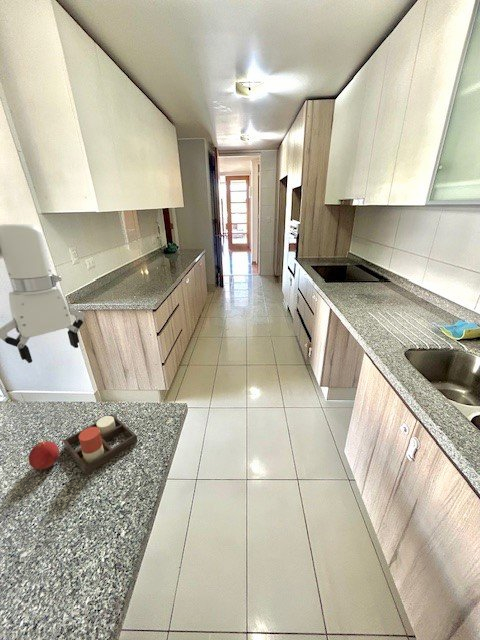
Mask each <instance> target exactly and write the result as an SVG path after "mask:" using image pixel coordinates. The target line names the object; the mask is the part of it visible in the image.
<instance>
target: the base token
mask: <svg viewBox="0 0 480 640" xmlns="http://www.w3.org/2000/svg"><path fill="white" fill-rule="evenodd" d="M82 454H83V457H84V461H85V464H86V465H88V464H90V463H91V462H93V461H94V460H96V459H97V458H99V457H100V456H102V455H104V454H105V453H104V448H103V445H102V446H101V447H100V449H98V450H97V451H95V452H93V453H90V454H86V453H83V452H82Z"/></svg>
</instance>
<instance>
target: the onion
mask: <svg viewBox="0 0 480 640" xmlns="http://www.w3.org/2000/svg"><path fill="white" fill-rule="evenodd" d="M59 456H60V448H59V446H58V444H55V442H52V441H43V440H40V441H38V443H37V444H36V445H34V447H33V448H32V449H31V450H30V453H29V454H28V463H29V464H28V465H29V466H30V467H31V468H32V469H35V470H46V469H48V468H50V467H52V466H53V465H54V464H55V463H56V462H57V461H58V458H59Z"/></svg>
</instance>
